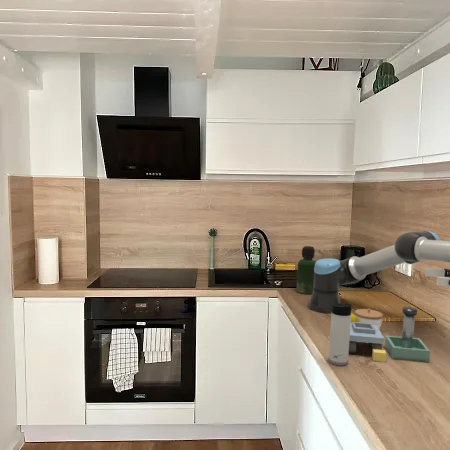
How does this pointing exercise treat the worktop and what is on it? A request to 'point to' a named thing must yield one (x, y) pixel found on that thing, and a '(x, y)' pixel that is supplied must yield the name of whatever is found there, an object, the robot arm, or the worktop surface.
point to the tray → (407, 349)
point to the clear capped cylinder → (408, 326)
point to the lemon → (353, 318)
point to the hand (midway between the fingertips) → (431, 276)
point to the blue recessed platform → (365, 335)
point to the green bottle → (306, 271)
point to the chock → (379, 355)
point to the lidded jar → (369, 316)
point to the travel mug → (340, 334)
